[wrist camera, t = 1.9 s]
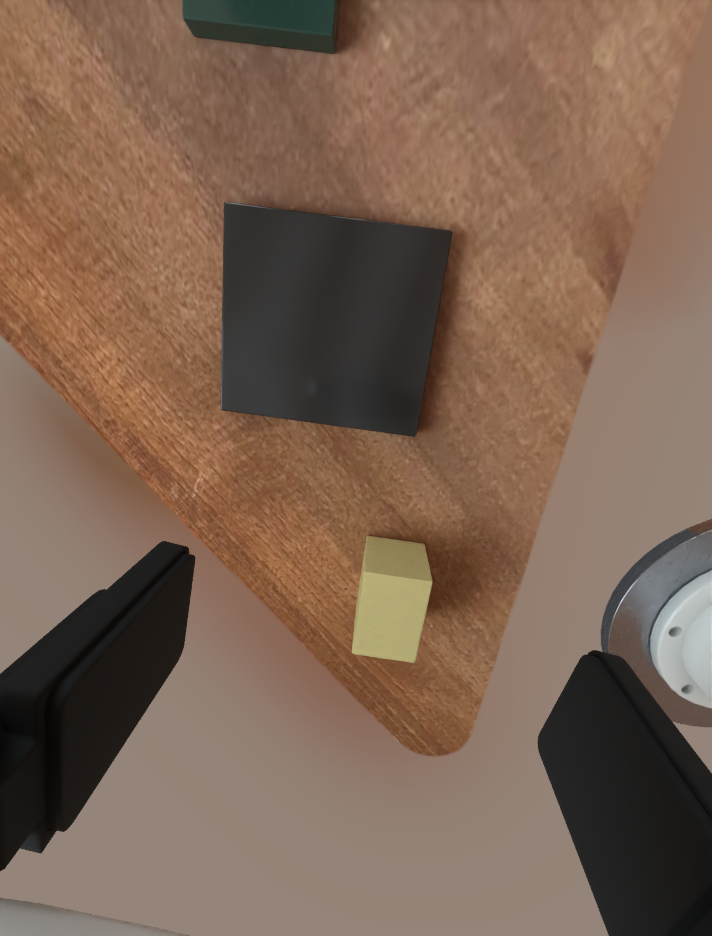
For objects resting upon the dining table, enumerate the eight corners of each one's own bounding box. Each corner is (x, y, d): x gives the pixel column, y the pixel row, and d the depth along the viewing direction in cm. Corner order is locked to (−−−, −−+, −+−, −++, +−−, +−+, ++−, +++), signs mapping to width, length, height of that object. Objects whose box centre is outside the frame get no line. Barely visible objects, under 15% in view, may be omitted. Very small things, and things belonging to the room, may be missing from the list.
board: (449, 235, 21) (453, 230, 20) (414, 433, 24) (415, 437, 23) (230, 207, 21) (223, 201, 20) (226, 407, 24) (220, 410, 24)
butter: (424, 543, 27) (433, 581, 22) (409, 615, 28) (415, 663, 24) (366, 535, 27) (364, 571, 22) (356, 607, 29) (351, 654, 24)
